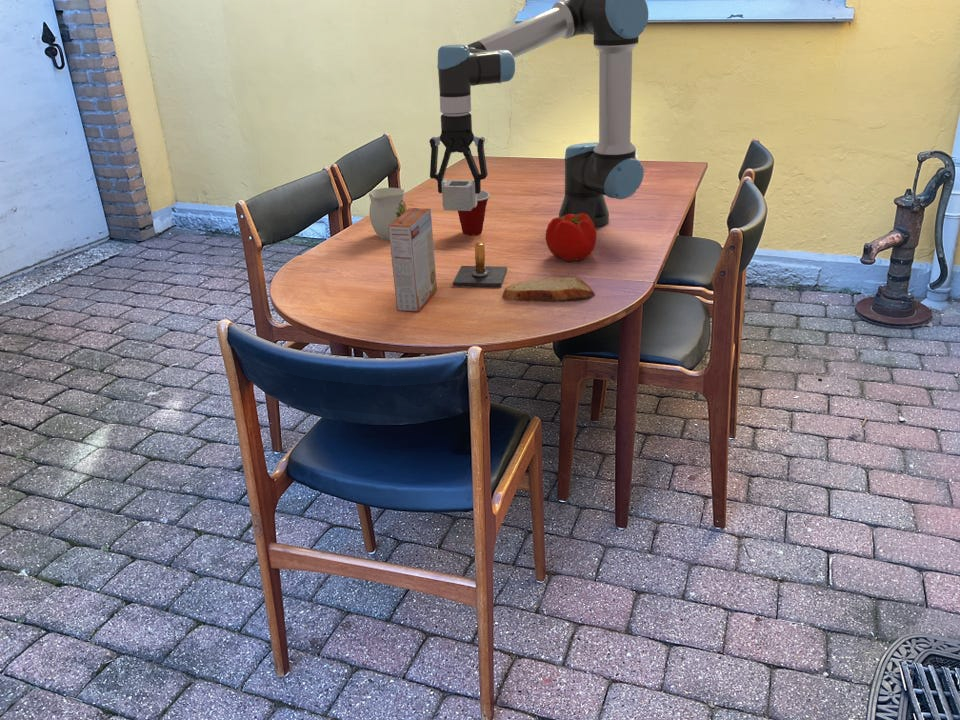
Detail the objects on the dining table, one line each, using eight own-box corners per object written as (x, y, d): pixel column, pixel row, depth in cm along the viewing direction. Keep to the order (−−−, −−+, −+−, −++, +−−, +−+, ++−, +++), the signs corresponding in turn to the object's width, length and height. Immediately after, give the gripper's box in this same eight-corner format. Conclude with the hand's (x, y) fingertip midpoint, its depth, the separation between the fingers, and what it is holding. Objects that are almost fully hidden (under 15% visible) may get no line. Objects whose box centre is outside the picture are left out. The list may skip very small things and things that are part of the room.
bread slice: (495, 297, 195) (495, 282, 193) (546, 277, 205) (546, 263, 204) (551, 317, 183) (551, 302, 181) (601, 295, 194) (602, 280, 192)
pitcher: (419, 226, 246) (416, 182, 240) (397, 245, 231) (393, 198, 225) (386, 225, 250) (382, 180, 243) (362, 243, 234) (357, 196, 228)
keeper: (507, 270, 210) (506, 236, 206) (501, 287, 199) (500, 252, 195) (461, 269, 212) (459, 236, 208) (453, 286, 201) (451, 251, 197)
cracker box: (414, 289, 200) (408, 206, 191) (438, 291, 199) (432, 207, 189) (394, 311, 188) (386, 224, 179) (419, 313, 187) (412, 225, 177)
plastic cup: (479, 240, 233) (478, 199, 227) (447, 235, 238) (445, 195, 232) (497, 229, 241) (496, 190, 236) (466, 225, 246) (464, 186, 241)
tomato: (567, 269, 209) (568, 225, 203) (535, 255, 220) (535, 213, 214) (607, 259, 215) (609, 216, 209) (574, 245, 226) (575, 204, 220)
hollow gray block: (475, 203, 209) (475, 180, 207) (470, 210, 203) (469, 187, 201) (449, 202, 211) (448, 179, 208) (443, 210, 204) (442, 186, 202)
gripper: (498, 110, 198) (500, 202, 208) (419, 110, 202) (425, 201, 212) (493, 115, 192) (496, 210, 202) (412, 116, 195) (418, 209, 205)
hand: (460, 205), depth 207 cm, fingers closed on hollow gray block, 7 cm apart
